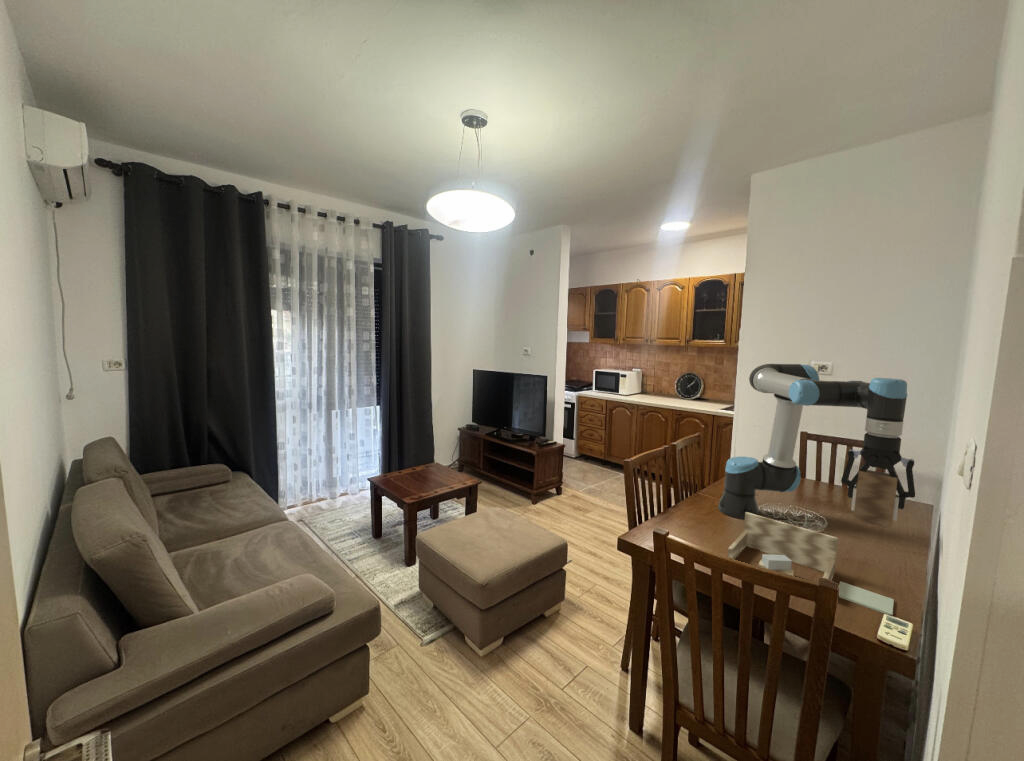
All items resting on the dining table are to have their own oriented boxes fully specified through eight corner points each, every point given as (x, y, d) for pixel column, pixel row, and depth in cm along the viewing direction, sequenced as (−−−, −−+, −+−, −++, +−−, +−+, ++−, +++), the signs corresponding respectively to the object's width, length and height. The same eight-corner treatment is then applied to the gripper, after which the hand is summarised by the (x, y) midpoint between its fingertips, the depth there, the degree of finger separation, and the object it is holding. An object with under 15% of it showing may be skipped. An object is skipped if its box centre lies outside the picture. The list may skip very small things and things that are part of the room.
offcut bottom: (757, 572, 130) (758, 564, 130) (759, 568, 133) (760, 559, 133) (791, 584, 124) (792, 575, 124) (793, 579, 127) (794, 570, 127)
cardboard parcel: (853, 519, 116) (858, 471, 115) (854, 515, 119) (860, 468, 118) (891, 528, 111) (897, 478, 109) (892, 524, 114) (898, 475, 112)
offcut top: (768, 569, 127) (768, 560, 127) (761, 563, 130) (762, 554, 130) (790, 570, 127) (791, 560, 126) (783, 563, 130) (784, 554, 130)
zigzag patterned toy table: (726, 563, 135) (728, 529, 133) (743, 543, 148) (746, 511, 147) (824, 600, 116) (828, 560, 115) (834, 573, 130) (838, 537, 128)
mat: (835, 596, 118) (836, 594, 118) (840, 583, 125) (840, 581, 125) (892, 616, 110) (892, 614, 110) (893, 601, 116) (893, 599, 116)
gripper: (832, 430, 117) (824, 506, 119) (937, 444, 102) (926, 531, 105) (836, 426, 122) (829, 499, 125) (936, 439, 108) (926, 522, 110)
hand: (873, 513), depth 115 cm, fingers closed on cardboard parcel, 8 cm apart
